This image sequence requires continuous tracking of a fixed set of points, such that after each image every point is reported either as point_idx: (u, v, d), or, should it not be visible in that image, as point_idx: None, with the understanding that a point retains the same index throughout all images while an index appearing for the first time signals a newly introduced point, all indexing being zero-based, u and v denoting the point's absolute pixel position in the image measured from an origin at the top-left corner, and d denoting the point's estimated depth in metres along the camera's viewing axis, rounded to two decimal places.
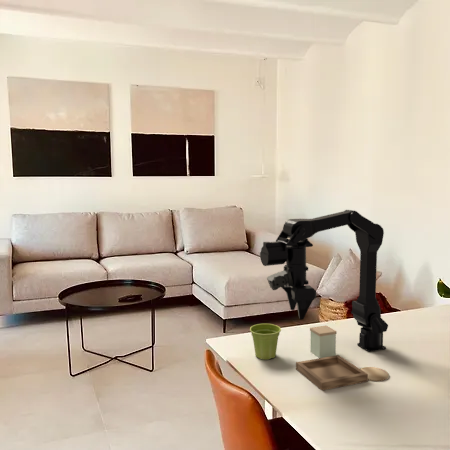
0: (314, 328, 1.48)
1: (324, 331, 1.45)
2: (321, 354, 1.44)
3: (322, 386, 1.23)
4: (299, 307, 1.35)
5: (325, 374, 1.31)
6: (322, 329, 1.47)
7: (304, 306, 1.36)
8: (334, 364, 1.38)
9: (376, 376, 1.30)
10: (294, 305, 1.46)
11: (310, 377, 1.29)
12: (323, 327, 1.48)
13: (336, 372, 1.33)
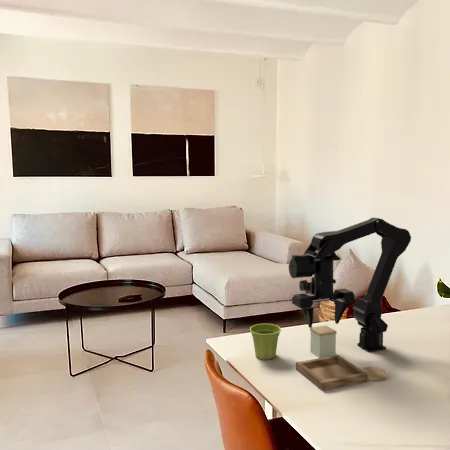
0: (314, 328, 1.48)
1: (324, 331, 1.45)
2: (321, 354, 1.44)
3: (322, 386, 1.23)
4: (304, 314, 1.45)
5: (325, 374, 1.31)
6: (322, 329, 1.47)
7: (307, 315, 1.43)
8: (334, 364, 1.38)
9: (376, 376, 1.30)
10: (336, 319, 1.47)
11: (310, 377, 1.29)
12: (323, 327, 1.48)
13: (336, 372, 1.33)
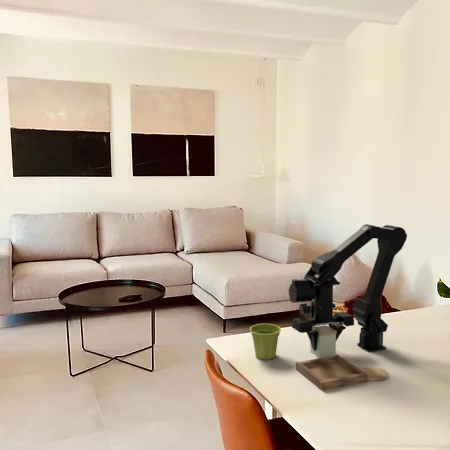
0: None
1: (324, 330, 1.45)
2: (321, 354, 1.44)
3: (322, 386, 1.23)
4: (309, 337, 1.46)
5: (325, 374, 1.31)
6: (322, 329, 1.47)
7: (312, 338, 1.45)
8: (334, 364, 1.38)
9: (376, 376, 1.30)
10: None
11: (310, 377, 1.29)
12: (323, 327, 1.48)
13: (336, 372, 1.33)
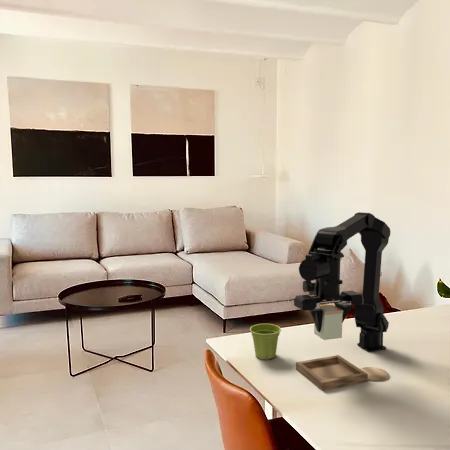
0: None
1: (329, 309, 1.31)
2: (325, 335, 1.30)
3: (322, 386, 1.23)
4: None
5: (325, 374, 1.31)
6: (327, 308, 1.33)
7: (316, 318, 1.31)
8: (334, 364, 1.38)
9: (376, 376, 1.30)
10: None
11: (310, 377, 1.29)
12: (329, 306, 1.34)
13: (336, 372, 1.33)
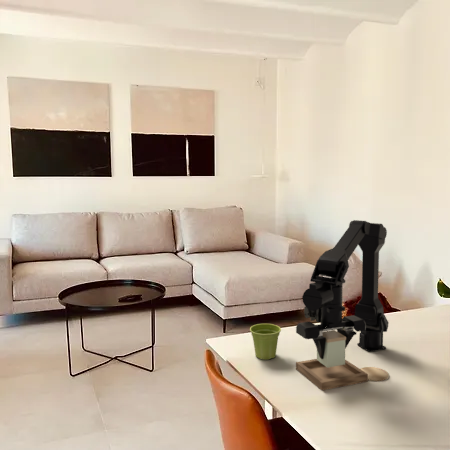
0: None
1: (332, 336, 1.30)
2: (328, 363, 1.29)
3: (322, 386, 1.23)
4: (315, 344, 1.31)
5: (325, 374, 1.31)
6: (330, 334, 1.31)
7: (318, 345, 1.29)
8: None
9: (376, 376, 1.30)
10: None
11: (310, 377, 1.29)
12: (331, 332, 1.33)
13: (336, 372, 1.33)
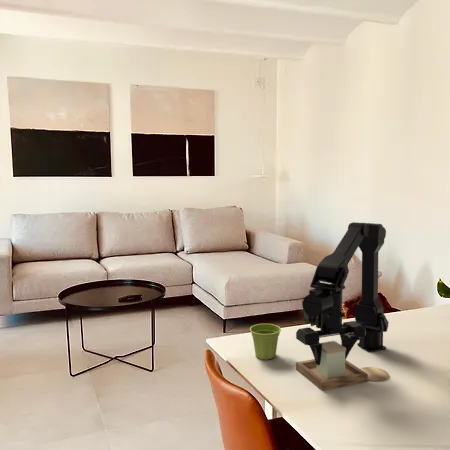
0: None
1: (332, 347, 1.30)
2: (328, 374, 1.29)
3: (322, 386, 1.23)
4: (312, 350, 1.31)
5: None
6: (330, 345, 1.31)
7: (315, 351, 1.29)
8: None
9: (376, 376, 1.30)
10: None
11: (310, 377, 1.29)
12: (331, 343, 1.33)
13: None
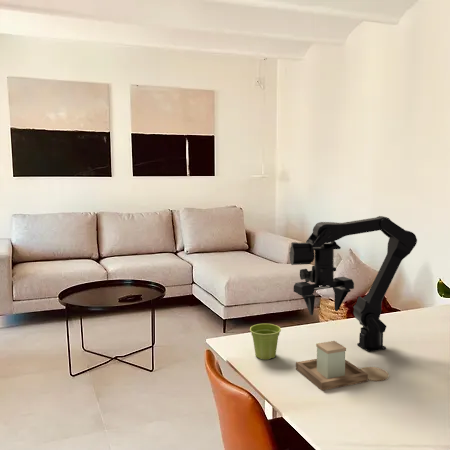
0: (321, 344, 1.32)
1: (332, 347, 1.30)
2: (328, 374, 1.29)
3: (322, 386, 1.23)
4: None
5: None
6: (330, 345, 1.31)
7: (308, 302, 1.46)
8: None
9: (376, 376, 1.30)
10: (336, 306, 1.50)
11: (310, 377, 1.29)
12: (331, 343, 1.33)
13: None
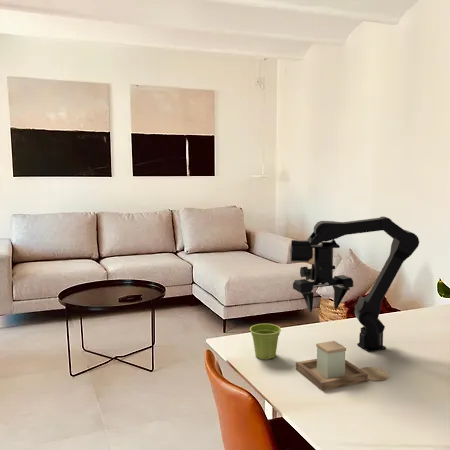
0: (321, 344, 1.32)
1: (332, 347, 1.30)
2: (328, 374, 1.29)
3: (322, 386, 1.23)
4: (305, 299, 1.50)
5: None
6: (330, 345, 1.31)
7: (307, 300, 1.49)
8: None
9: (376, 376, 1.30)
10: (336, 304, 1.52)
11: (310, 377, 1.29)
12: (331, 343, 1.33)
13: None
